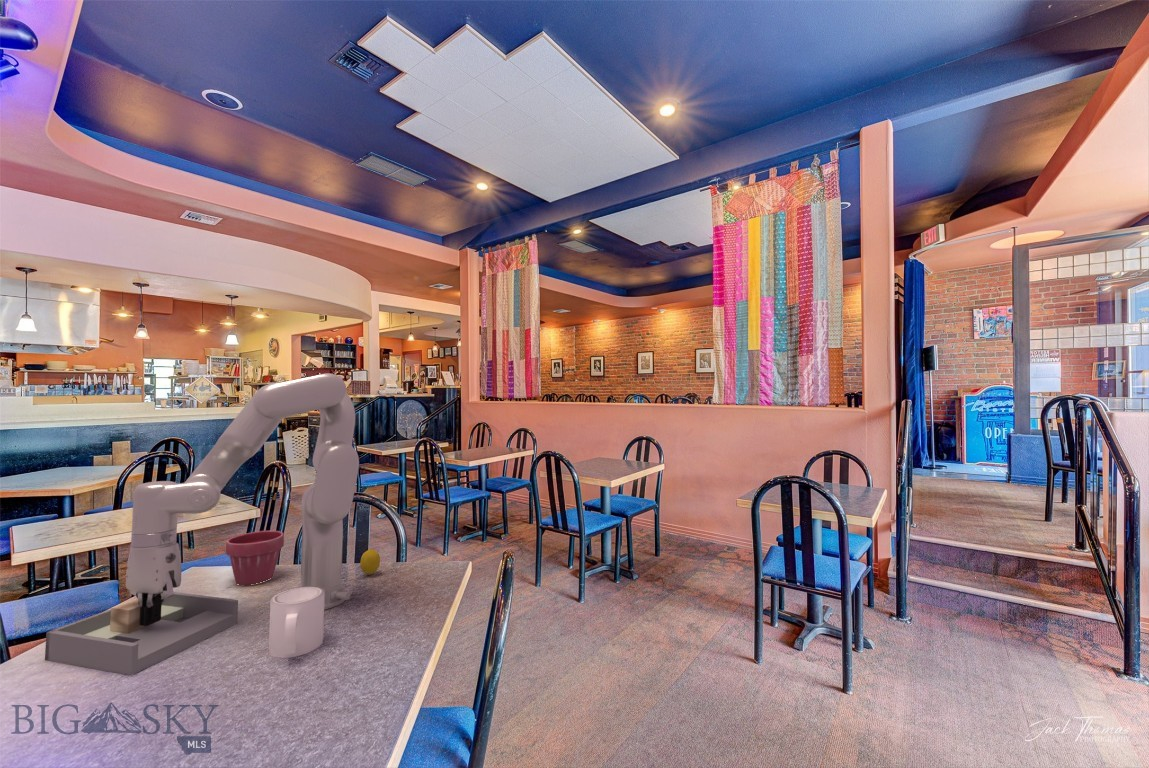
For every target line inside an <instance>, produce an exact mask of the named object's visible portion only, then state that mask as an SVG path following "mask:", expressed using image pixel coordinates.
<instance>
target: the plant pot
mask: <svg viewBox="0 0 1149 768" xmlns="http://www.w3.org/2000/svg"><path fill="white" fill-rule="evenodd" d="M225 543H226V544H225V555H226V556H228V557H229V560H230V564H231V569H232V573H233V577H234V581H235V584H236V585H237V584H239V585H251V584H256V583H260V582H263V581H266V580H268V579H270V578H272V577H274V574H275V569H276V567H277V563H278V559H279V555H280V552H281V549H282V548H283V547H284V543H285V537H284V532H282V531H279V530H259V531H252V532H248V533H247V532H246V533H242V534H238V535H234V536H233V537H230V538H228V539H227V540H226V542H225ZM272 579H273V578H272ZM239 585H238V586H239ZM251 586H252V585H251Z"/></svg>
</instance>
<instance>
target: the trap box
mask: <svg viewBox="0 0 1149 768" xmlns="http://www.w3.org/2000/svg"><path fill="white" fill-rule="evenodd" d="M173 592H174V595H173V596H172V597H169V598H166V599H164V602H163V603H162V606H161V620H160V621H158V622H155V623H153V624H151V625H148V626H145V627H143V628H140V629H138V630H136V631H133V632H131V633H128V634H126V633H119V632H111V631H110V619H111V608H110V609H108V610H104V611H102V612H99V613H97V614H93V615H91V616H88V617H84V618H82V619H80V620H77V621H74V622H71V623H68V624H66V625H62V626H60V627H57V628H54V629H51V630H49V631H47V632H46V634H45V635H46V636H45V648H44V649H45V651H44V661H48V662H55V663H60V664H66V665H71V666H76V667H82V668H88V669H92V670H99V671H103V672H109V673H115V674H120V673H121V674H120V675H125V674H128V675H127V676H133V675H135V674H138V673H139V672H141V670H142V671H144V670H145V668H146V669H147V668H149V667H152V666H153V665H156V664H157V663H160V662H162V661H164V660H167V659H168V658H169V657H172V656H174V655H176V654H178V653H180V652H182V651H184V650H186V649H188V648H190V647H192V646H195V645H197V644H198V643H202V641H204V640H207V639H208V638H210V637H213V636H215V635H217V634H219V633H221V632H223V631H225V630H227V629H229V628H232V627H234V626H235V625H238V614H239V613H238V612H239V610H238V609H239V600H238V599H234V598H226V597H217V596H210V595H209V596H208V595H202V594H193V593H185V592H179V591H173ZM143 669H144V670H143ZM132 674H133V675H132Z"/></svg>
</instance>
